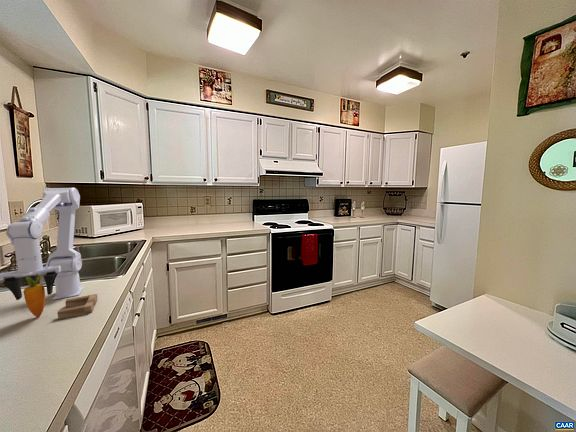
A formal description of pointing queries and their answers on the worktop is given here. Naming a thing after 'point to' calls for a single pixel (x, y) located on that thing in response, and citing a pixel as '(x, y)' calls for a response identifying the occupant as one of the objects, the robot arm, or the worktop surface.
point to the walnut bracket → (79, 310)
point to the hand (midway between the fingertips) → (35, 296)
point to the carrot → (35, 296)
